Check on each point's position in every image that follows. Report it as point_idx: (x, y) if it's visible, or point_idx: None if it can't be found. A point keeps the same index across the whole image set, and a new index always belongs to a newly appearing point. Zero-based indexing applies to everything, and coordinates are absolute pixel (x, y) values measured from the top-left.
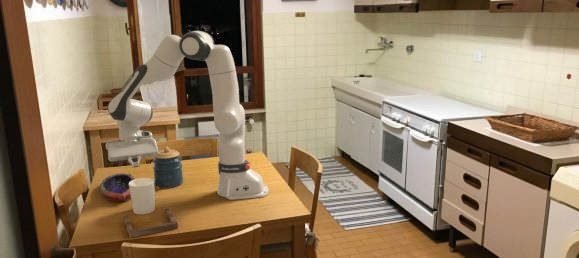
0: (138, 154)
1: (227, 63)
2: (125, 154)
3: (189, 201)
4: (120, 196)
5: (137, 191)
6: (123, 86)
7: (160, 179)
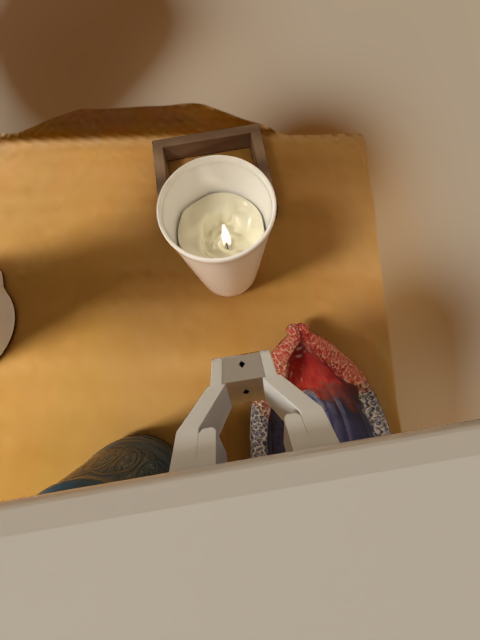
0: (192, 469)
1: None
2: (405, 462)
3: (104, 295)
4: (302, 323)
5: (236, 180)
6: None
7: (153, 464)
